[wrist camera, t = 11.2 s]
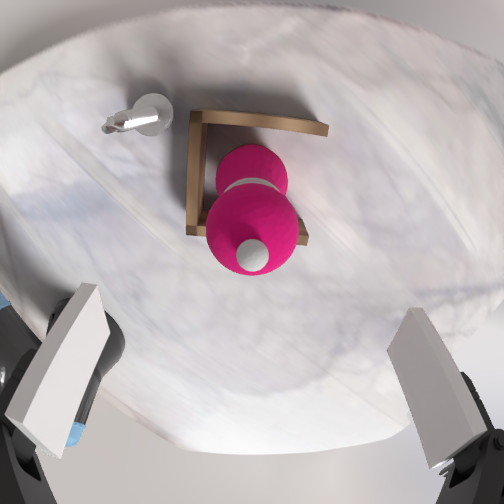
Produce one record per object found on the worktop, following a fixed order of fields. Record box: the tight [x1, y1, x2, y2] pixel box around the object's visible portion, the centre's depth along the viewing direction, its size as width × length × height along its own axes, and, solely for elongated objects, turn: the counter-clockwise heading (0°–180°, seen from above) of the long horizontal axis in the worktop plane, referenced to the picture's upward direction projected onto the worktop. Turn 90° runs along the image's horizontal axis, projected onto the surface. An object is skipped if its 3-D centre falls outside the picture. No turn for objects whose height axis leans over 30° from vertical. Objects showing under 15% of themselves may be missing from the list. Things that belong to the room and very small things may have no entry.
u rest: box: [186, 109, 329, 246], centre depth 31 cm, size 13×13×4 cm
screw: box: [102, 93, 174, 136], centre depth 24 cm, size 13×5×5 cm
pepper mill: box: [206, 144, 299, 275], centre depth 24 cm, size 7×7×20 cm
